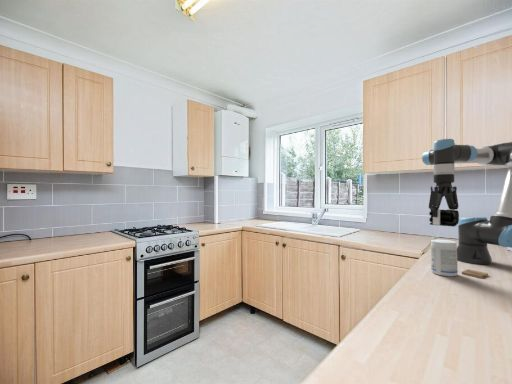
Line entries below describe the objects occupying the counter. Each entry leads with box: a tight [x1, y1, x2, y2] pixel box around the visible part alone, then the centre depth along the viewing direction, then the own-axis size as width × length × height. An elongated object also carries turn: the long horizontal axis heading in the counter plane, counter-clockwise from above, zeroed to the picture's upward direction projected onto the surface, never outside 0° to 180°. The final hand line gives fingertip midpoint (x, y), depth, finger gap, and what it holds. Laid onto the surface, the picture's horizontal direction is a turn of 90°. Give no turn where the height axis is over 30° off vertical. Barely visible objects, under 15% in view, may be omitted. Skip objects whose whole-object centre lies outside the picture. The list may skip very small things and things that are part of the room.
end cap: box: [429, 209, 460, 227], centre depth 115 cm, size 10×7×7 cm
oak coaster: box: [461, 268, 489, 279], centre depth 113 cm, size 7×7×1 cm
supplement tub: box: [430, 238, 459, 277], centre depth 115 cm, size 10×10×15 cm
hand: (443, 224), depth 115 cm, fingers closed on end cap, 9 cm apart
